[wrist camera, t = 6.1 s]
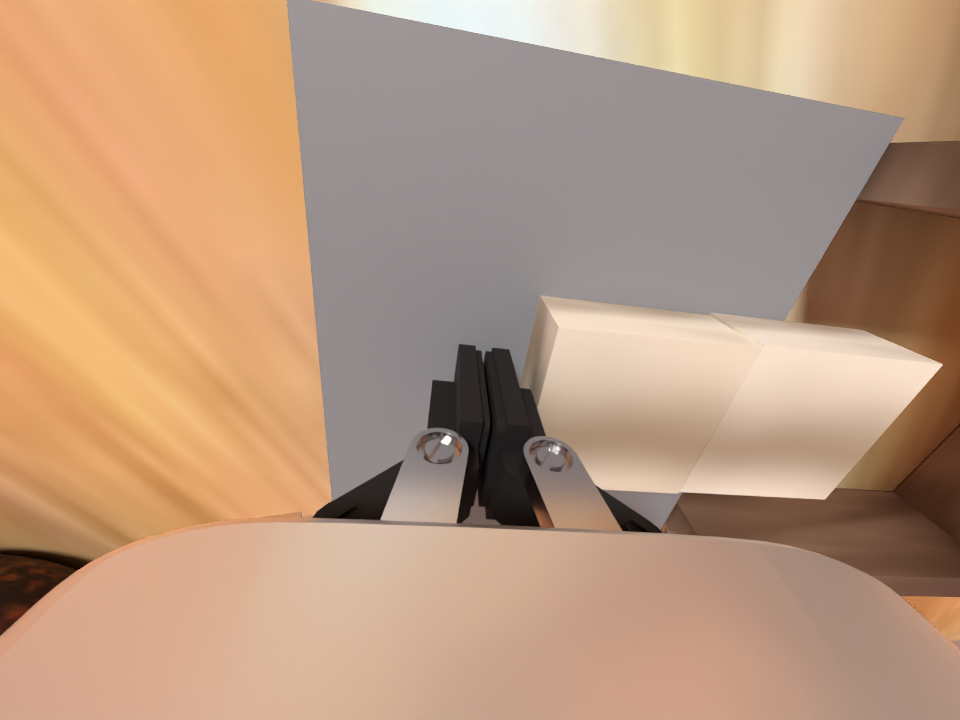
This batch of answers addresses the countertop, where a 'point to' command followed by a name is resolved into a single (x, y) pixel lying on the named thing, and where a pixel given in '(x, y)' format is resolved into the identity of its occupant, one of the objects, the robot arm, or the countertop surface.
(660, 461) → the cream tile
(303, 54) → the slate plate
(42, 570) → the dark bulbous vase
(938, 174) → the box
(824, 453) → the cream tile
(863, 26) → the countertop surface
